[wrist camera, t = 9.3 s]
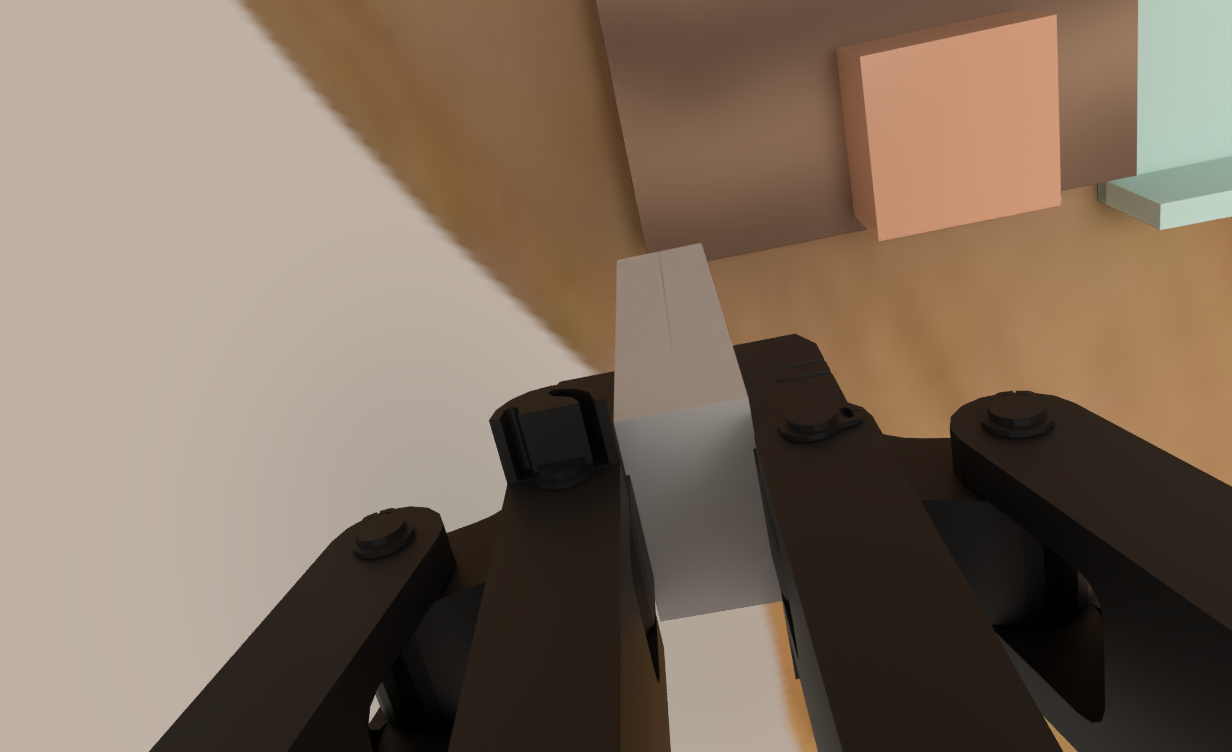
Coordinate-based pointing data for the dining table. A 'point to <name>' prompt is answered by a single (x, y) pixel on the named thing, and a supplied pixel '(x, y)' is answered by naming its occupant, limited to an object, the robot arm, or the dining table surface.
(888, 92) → the terracotta tile
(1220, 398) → the dining table surface
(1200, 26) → the tray
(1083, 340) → the dining table surface
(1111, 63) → the plate
